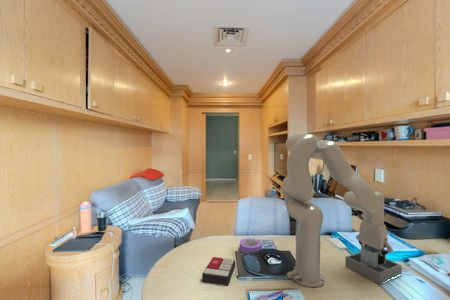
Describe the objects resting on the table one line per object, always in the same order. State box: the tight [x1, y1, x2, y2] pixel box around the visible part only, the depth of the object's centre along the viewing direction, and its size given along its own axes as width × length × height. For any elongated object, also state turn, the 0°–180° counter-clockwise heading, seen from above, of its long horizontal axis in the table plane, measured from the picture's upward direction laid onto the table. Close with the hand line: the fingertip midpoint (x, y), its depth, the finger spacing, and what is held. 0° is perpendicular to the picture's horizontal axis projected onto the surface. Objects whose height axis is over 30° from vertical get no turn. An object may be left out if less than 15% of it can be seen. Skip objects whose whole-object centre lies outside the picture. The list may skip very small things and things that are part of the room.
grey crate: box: [344, 251, 403, 286], centre depth 99 cm, size 15×15×4 cm
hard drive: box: [326, 237, 348, 251], centre depth 125 cm, size 2×8×12 cm
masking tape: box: [239, 237, 263, 254], centre depth 119 cm, size 12×12×4 cm
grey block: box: [360, 246, 387, 268], centre depth 99 cm, size 8×6×6 cm
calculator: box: [201, 256, 236, 287], centre depth 97 cm, size 11×4×15 cm
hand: (373, 259), depth 99 cm, fingers closed on grey block, 6 cm apart
